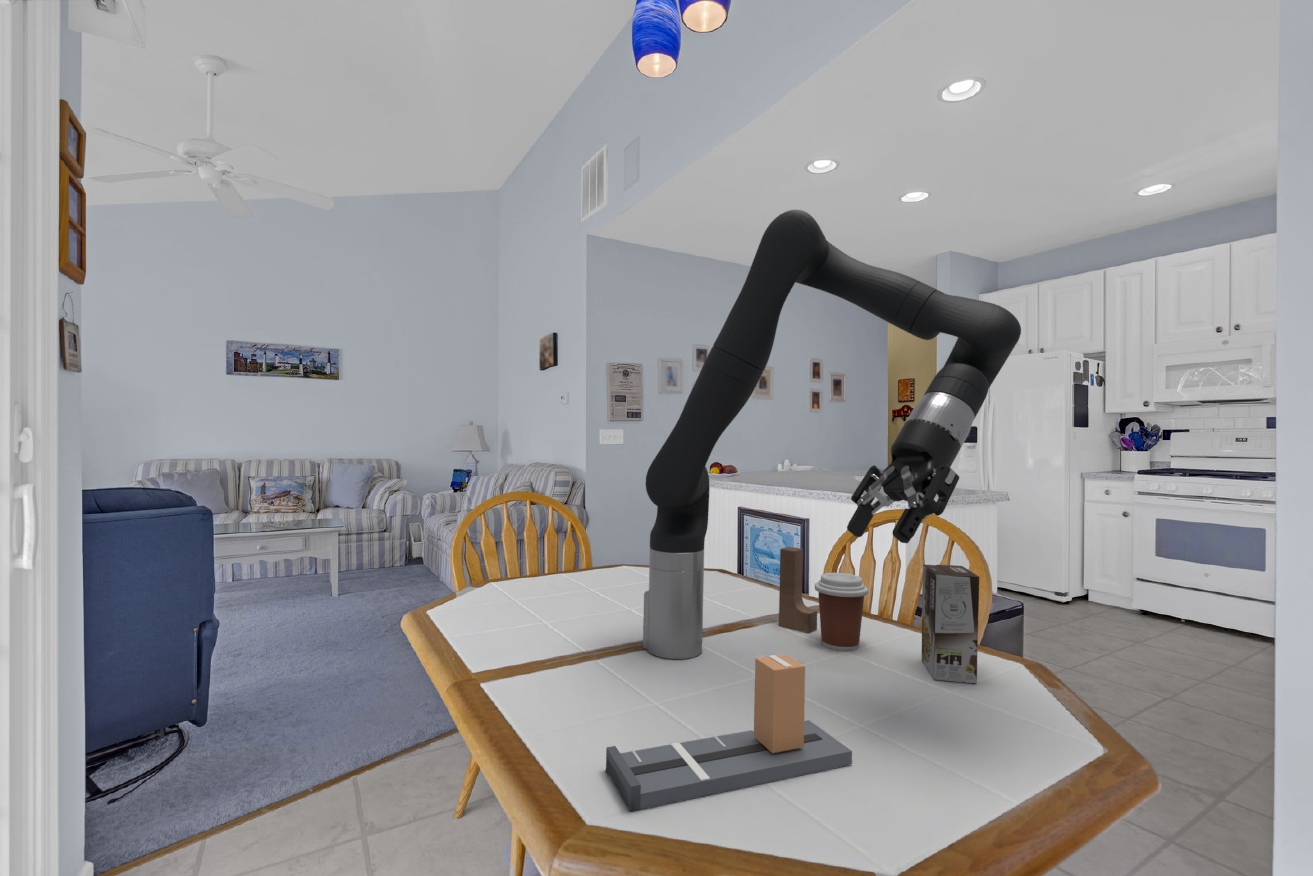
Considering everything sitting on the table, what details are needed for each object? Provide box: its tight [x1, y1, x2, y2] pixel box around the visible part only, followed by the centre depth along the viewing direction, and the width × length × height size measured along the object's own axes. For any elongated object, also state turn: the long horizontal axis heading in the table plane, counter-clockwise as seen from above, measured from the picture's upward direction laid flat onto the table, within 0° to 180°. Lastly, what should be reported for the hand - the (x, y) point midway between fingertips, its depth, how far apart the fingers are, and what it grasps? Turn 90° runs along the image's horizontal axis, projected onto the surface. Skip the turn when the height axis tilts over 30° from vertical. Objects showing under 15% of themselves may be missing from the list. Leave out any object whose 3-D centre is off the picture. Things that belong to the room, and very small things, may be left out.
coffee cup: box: [814, 572, 869, 652], centre depth 110 cm, size 9×9×12 cm
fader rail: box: [605, 719, 853, 813], centre depth 68 cm, size 26×8×2 cm, turn 112°
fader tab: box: [753, 653, 806, 753], centre depth 70 cm, size 4×4×9 cm
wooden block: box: [778, 546, 818, 634], centre depth 119 cm, size 7×3×15 cm, turn 48°
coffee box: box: [921, 564, 980, 684], centre depth 98 cm, size 9×6×16 cm
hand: (875, 536), depth 78 cm, fingers open, 8 cm apart
